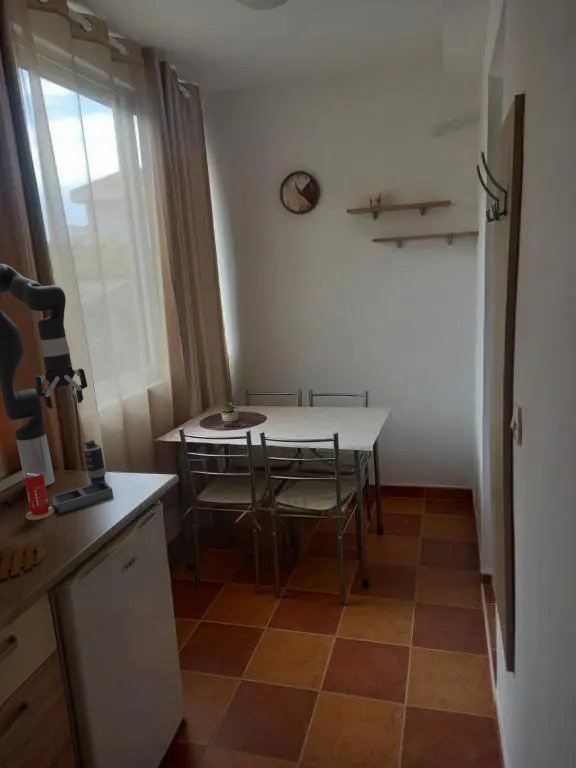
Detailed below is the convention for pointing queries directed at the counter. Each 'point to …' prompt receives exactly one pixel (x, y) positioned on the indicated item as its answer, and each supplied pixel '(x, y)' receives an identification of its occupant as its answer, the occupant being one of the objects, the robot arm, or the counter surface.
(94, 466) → the grenade
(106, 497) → the rack frame
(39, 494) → the beverage can
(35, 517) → the coaster
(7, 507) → the counter surface
